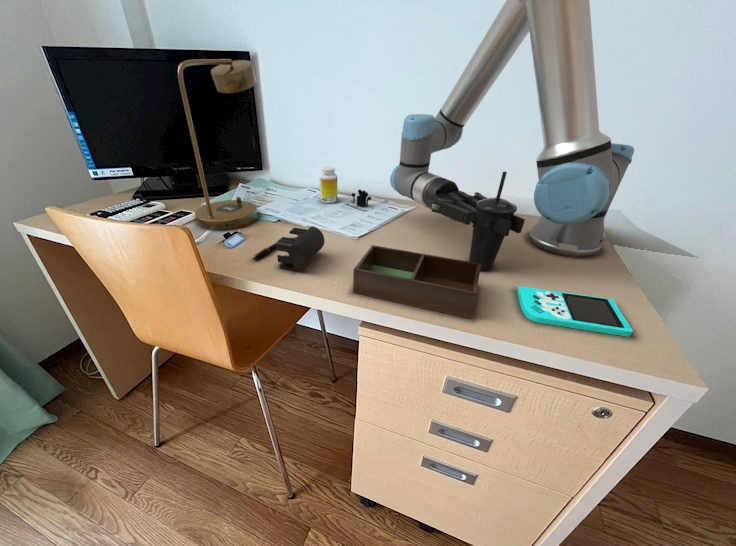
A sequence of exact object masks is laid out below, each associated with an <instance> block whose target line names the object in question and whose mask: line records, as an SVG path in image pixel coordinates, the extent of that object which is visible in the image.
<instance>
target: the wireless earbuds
mask: <svg viewBox="0 0 736 546" xmlns="http://www.w3.org/2000/svg"><path fill="white" fill-rule="evenodd" d="M357 193H358V195H357V196H356V193H355V192H352V193H351V197H353V198H352V203H353V204H355V203H356V205H357V206H358V207H361V208H365V207H368V206H369V201H371V200H372V197H371V196H369V193H368V192H367V191H366V190H362V189H357ZM355 198H356V199H355ZM355 200H356V201H355Z"/></svg>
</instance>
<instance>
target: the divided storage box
mask: <svg viewBox="0 0 736 546" xmlns="http://www.w3.org/2000/svg"><path fill="white" fill-rule="evenodd" d="M480 268H481V264H480V263H474V262H469V260H461V259H456V258H450V257H445V256H444V257H443V256H439V255H434V254H433V255H432V254H427V253H421V252H414V251H410V250H403V249H397V248H392V247H386V246H379V245H374V244H372V245H371V246H370V247H369V248H368V250H367V251H366V252H365V254H364V255H363V256H362V258H361V259H360V260H359V262H358V263H357V264H356V265H355V267H354V268H353V276H352V278H353V279H352V294H357V295H361V296H366V297H370V298H374V299H379V300H383V301H388V302H393V303H397V304H402V305H407V306H410V307H415V308H418V309H424V310H428V311H433V312H437V313H441V314H446V315H451V316H456V317H459V318H464V319H471V315H472V311H473V309H474V304H475V300H476V297H477V292H478V287H479V280H480V274H481V271H480Z"/></svg>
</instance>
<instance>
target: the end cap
mask: <svg viewBox="0 0 736 546" xmlns="http://www.w3.org/2000/svg"><path fill="white" fill-rule="evenodd" d="M288 233H289V235H296V236H295V237H290V238H288V236H287V237H286V236H282V237H281V238H280V239H278V240H277V241H276V242H275V243H276V248H275V249H276V251H278V252H285V253H287V254H288V255H286V254H284V255H282V254H278V255H277V256H276V257H277V262H278V263H279V264H278V265H279V266H278V267H279V268H280V269H282V270H287V271H291V272H298V271H300V270H302V269H303V268H304V267H305V266H306V265H307V264H308V263H309V262H310V261H311V260H312V259H313V258H314V257H315V256H316V255H317V254H318V253H319V252H320V251H321V250H322V249H323V247H324V246H325V236H324V234H323V232H322V231H321V230H320V229H319V228H318V227H316V226H313V225H311V226H309V228H308V229H306V228H301V227H293V228H291V230H289V231H288Z"/></svg>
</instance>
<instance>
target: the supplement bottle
mask: <svg viewBox="0 0 736 546" xmlns="http://www.w3.org/2000/svg"><path fill="white" fill-rule="evenodd" d="M335 169H336V168H335V167H334V166H323V167H322V168H321V174H319V198H320V199H319V200H320V201H321V202H322V203H325V204H326V203H327V204H332V203H335V202H337V201H338V175H337V174H336V170H335Z"/></svg>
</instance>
